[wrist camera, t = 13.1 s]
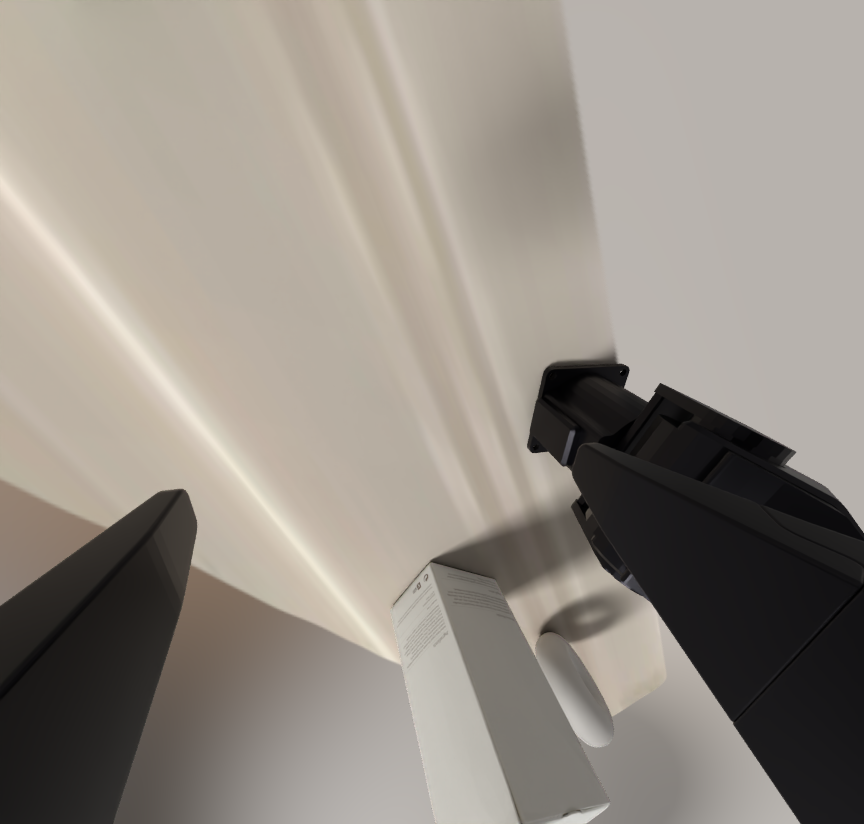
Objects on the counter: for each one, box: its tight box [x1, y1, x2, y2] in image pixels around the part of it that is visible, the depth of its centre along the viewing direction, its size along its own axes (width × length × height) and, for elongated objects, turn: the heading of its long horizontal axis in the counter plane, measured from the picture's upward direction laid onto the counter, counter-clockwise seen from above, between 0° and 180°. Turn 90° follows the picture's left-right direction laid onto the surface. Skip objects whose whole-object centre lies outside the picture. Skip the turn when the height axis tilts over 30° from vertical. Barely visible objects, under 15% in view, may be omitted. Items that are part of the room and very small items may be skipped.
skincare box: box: [390, 562, 610, 824], centre depth 26 cm, size 8×7×16 cm
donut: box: [535, 632, 614, 747], centre depth 37 cm, size 10×3×10 cm, turn 34°
